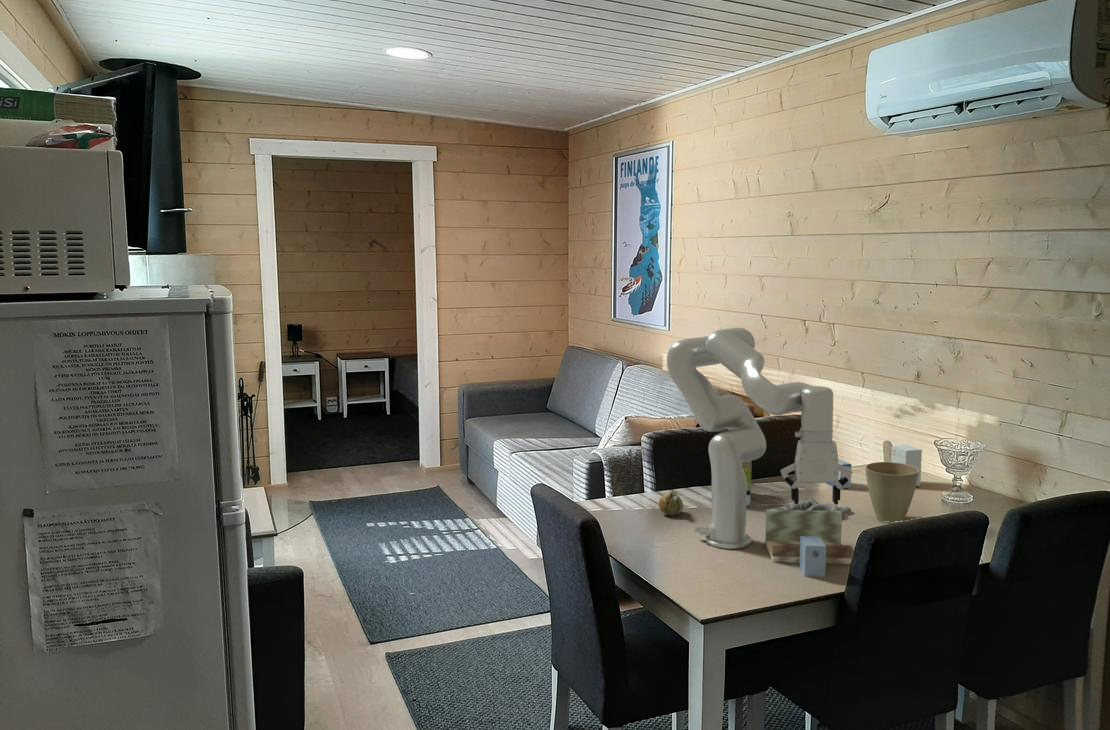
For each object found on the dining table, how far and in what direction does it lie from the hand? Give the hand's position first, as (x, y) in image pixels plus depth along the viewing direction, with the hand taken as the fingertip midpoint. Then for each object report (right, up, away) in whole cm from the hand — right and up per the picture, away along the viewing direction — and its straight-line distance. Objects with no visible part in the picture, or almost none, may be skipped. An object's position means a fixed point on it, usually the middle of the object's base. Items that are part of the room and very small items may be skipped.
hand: (815, 502), depth 207 cm
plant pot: (+35, -12, +41) cm, 55 cm away
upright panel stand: (+2, -16, +15) cm, 22 cm away
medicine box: (+32, -7, +76) cm, 83 cm away
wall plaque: (+14, -12, +45) cm, 49 cm away
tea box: (-8, -10, +63) cm, 65 cm away
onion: (-29, -12, +49) cm, 58 cm away
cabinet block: (0, -18, +3) cm, 18 cm away
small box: (+55, -7, +77) cm, 95 cm away
